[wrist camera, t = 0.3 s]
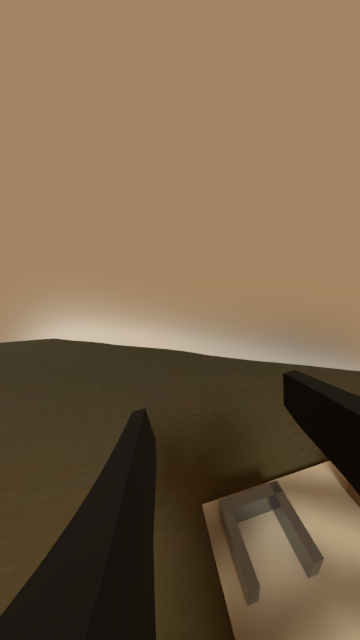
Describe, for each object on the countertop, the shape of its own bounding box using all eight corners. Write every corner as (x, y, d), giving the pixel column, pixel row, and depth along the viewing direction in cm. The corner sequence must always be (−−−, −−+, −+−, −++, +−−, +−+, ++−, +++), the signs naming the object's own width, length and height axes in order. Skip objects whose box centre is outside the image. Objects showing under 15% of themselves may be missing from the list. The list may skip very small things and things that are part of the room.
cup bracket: (318, 574, 16) (324, 558, 15) (247, 606, 15) (248, 591, 14) (274, 496, 21) (276, 480, 20) (219, 515, 20) (218, 500, 19)
